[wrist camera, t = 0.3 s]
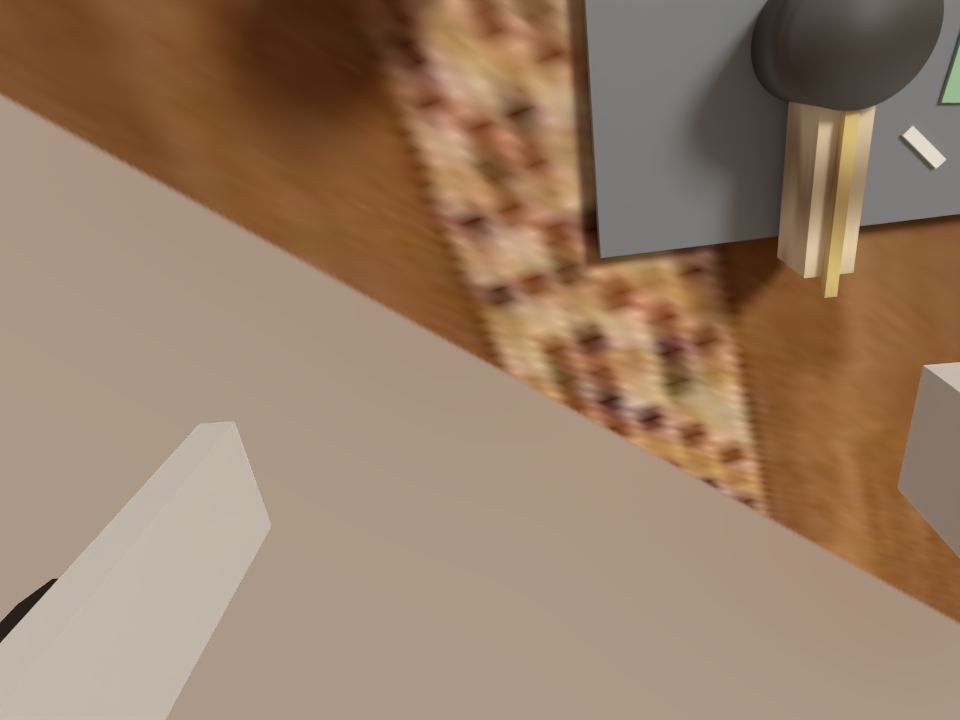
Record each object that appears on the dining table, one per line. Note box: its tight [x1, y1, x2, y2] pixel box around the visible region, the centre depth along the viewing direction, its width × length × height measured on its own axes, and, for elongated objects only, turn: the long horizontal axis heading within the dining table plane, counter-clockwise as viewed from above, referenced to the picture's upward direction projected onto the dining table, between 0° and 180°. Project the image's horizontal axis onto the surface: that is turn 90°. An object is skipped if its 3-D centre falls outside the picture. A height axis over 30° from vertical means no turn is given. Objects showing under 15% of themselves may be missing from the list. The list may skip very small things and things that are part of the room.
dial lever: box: [751, 0, 944, 298], centre depth 29 cm, size 15×6×5 cm, turn 8°
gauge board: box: [583, 0, 960, 258], centre depth 30 cm, size 20×22×1 cm
